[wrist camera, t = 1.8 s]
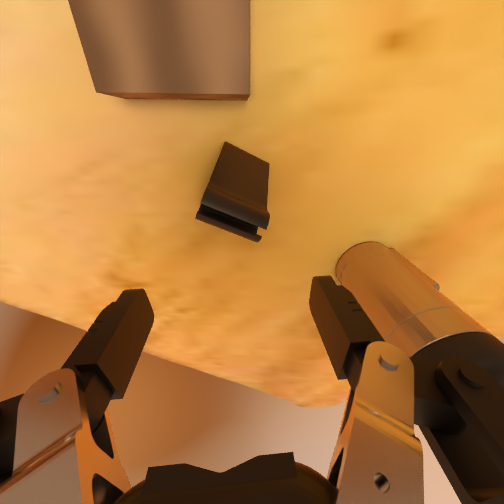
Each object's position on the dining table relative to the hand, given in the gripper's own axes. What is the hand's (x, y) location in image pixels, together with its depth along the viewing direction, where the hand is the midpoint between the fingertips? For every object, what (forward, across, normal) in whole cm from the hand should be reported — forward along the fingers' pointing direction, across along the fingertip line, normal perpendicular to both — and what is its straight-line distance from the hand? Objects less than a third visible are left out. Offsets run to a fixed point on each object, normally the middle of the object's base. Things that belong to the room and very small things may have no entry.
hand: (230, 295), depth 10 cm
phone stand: (+21, 0, 0) cm, 21 cm away
